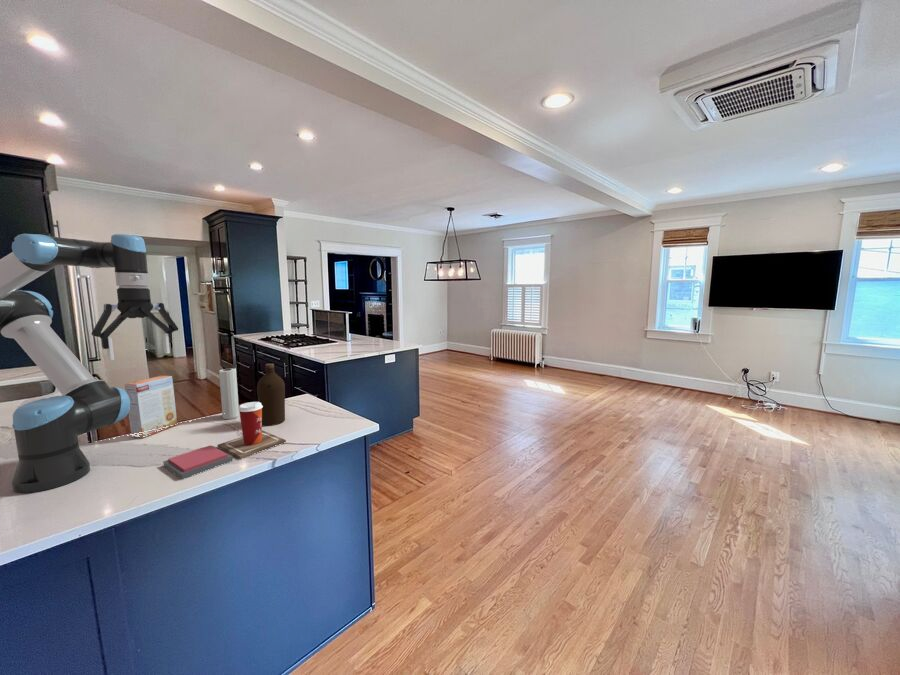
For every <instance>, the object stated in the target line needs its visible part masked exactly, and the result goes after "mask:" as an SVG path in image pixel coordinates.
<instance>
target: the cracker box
mask: <svg viewBox="0 0 900 675" xmlns="http://www.w3.org/2000/svg"><path fill="white" fill-rule="evenodd" d="M124 390H125V391H126V393H127V394H128V396H129V399H130V410H129V412H128V414H127V415H128V422H129V428H130V435H131V434H134V433H139V432H144V431H148V430H152V429H157V430H161V429H159V428H162V429H165V428H163V427H166V426H170V425H175V424H177V425H178V419H177V408H176V400H175V390H174V382H173V376H172V375H158V376H154V377H148V378H145V379H141V380H137V381H133V382H127V383H125V384H124ZM175 426H176V425H175ZM173 427H174V426H171V427H168V429H170V428H173ZM157 430H152V431H148V432H144V433H145V434H143V433H139V434H142V435H139V436H140V437H143V436H146V435H149V434H152V435H155V434H157ZM165 430H166V429H165ZM155 431H156V432H155ZM163 431H164V430H162V431H158V433H161V432H163ZM154 433H155V434H154ZM135 435H137V434H135Z"/></svg>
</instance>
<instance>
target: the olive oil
mask: <svg viewBox="0 0 900 675" xmlns="http://www.w3.org/2000/svg"><path fill="white" fill-rule="evenodd" d="M264 369H265V370H264V371H265V373H264V374H263V376H262V377H261V378H260V379H259V380H258V381H257V385H256V393H257V394H256V395H257V402H260V403H261V405H262V406H263V407H262V426H268V427H269V426H276V425H279V424H282V423H284V422H285V421H286V384H285V381H284V379H283V378H282V377H281V376H279V375H278V374H277V373H276V372H275V371H276V370H275V364H274V363H273V362H272V363H266V364H265V368H264Z"/></svg>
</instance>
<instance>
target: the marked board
mask: <svg viewBox="0 0 900 675" xmlns="http://www.w3.org/2000/svg"><path fill="white" fill-rule="evenodd" d="M284 442H286V443H287V440H286V439H284V438H282V437H280V436H277V435H274V434H272V433H271V432H267V431H265V430H263V429H262V441H261V442H260V443H258V444H255V445H245V444H244V440H243V436H239V437H237V438H234V439H231V440H227V441H225V442H221V443H219V444H217V448H218V447H219V448H218V449H220V448H221V449H220V450H222V449H223V450H222V451H224V450H225V451H224V452H226V451H227V452H229V453H231V454H233V455H235V456H236V457H235V456H234V457H235V458H237V457H238V458H237V459H239V458H240V460H243V459H245V458H244V457H246V458H248V457H250V455H251V456H253V455H252V454H254V453H256V454H258V453H257V452H259V451H262V450H265V449H267V448H270V447H273V446H275V445H278V446H280V445H279V444H281V443H283V444H285V443H284ZM281 445H282V444H281ZM275 447H276V446H275ZM273 448H274V447H273ZM270 449H271V448H270ZM267 450H268V449H267ZM265 451H266V450H265ZM227 452H226V453H227ZM262 452H263V451H262ZM229 453H228V454H229ZM259 453H260V452H259ZM231 454H230V455H231ZM233 455H232V456H233ZM254 455H255V454H254ZM247 456H248V457H247ZM242 458H243V459H242Z"/></svg>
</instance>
